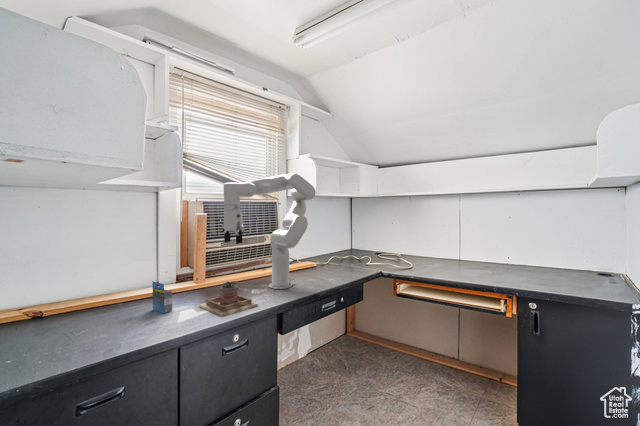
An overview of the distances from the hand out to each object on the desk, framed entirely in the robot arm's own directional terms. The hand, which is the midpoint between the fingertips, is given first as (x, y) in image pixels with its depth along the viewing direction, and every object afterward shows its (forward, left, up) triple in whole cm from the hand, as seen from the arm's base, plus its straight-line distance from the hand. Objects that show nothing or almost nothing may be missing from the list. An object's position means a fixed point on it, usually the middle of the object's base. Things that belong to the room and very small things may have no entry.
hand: (233, 242), depth 150 cm
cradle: (+10, +12, -27) cm, 31 cm away
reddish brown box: (+10, +12, -26) cm, 30 cm away
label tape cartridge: (+32, -4, -27) cm, 42 cm away
